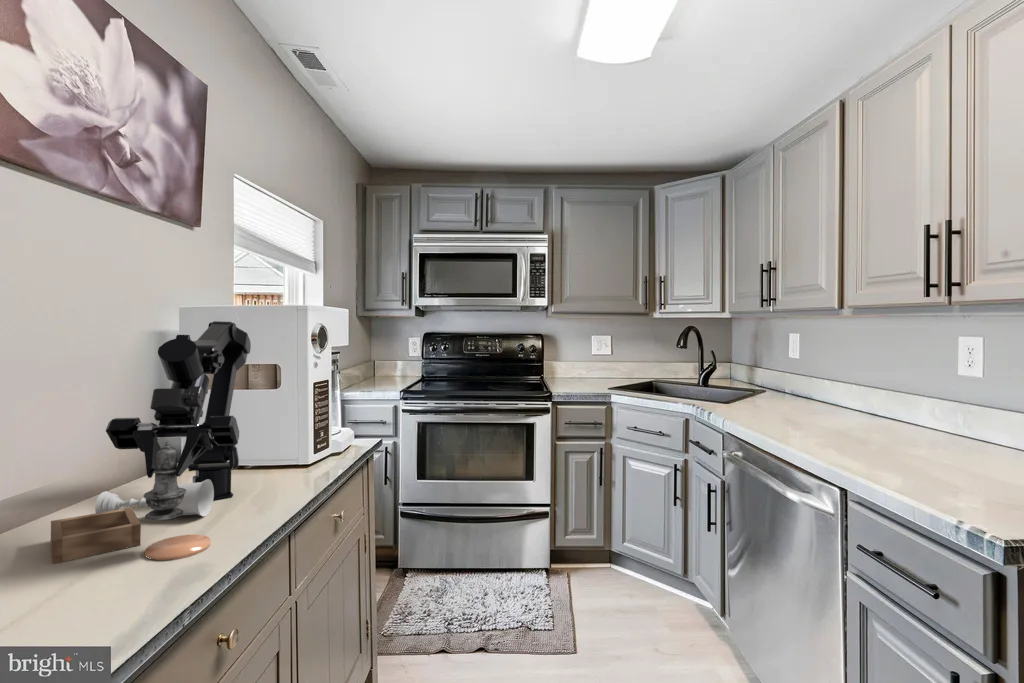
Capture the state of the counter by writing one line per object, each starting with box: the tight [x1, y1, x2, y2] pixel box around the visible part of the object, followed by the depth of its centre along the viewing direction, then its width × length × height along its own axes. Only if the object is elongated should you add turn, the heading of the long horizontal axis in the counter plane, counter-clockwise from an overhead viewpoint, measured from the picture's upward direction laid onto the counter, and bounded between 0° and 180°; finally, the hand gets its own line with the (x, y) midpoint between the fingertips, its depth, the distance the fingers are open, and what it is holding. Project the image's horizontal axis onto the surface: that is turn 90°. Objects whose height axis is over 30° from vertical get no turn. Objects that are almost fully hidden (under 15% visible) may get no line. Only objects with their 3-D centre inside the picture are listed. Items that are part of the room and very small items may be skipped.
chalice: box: [94, 479, 214, 517], centre depth 99 cm, size 7×7×18 cm
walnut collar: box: [50, 507, 142, 565], centre depth 86 cm, size 11×11×4 cm
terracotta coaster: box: [144, 534, 211, 561], centre depth 85 cm, size 9×9×1 cm
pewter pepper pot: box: [143, 441, 187, 521], centre depth 84 cm, size 6×6×12 cm
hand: (163, 475), depth 83 cm, fingers closed on pewter pepper pot, 4 cm apart
